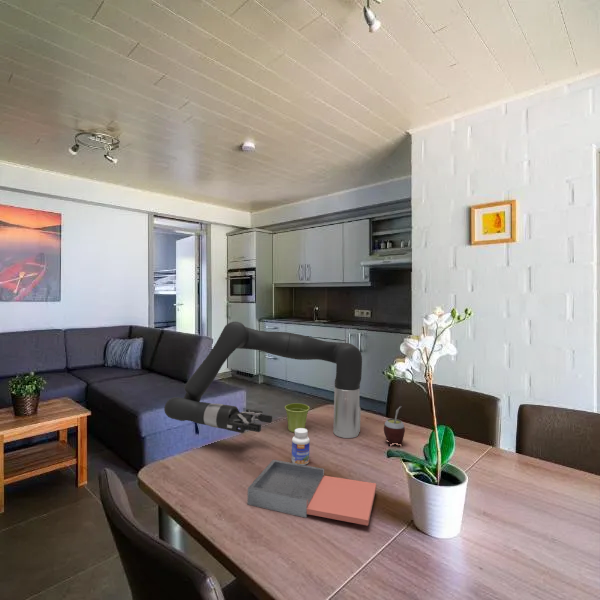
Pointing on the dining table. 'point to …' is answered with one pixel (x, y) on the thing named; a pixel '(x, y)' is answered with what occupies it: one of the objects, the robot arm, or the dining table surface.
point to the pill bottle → (300, 447)
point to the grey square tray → (285, 487)
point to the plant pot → (296, 415)
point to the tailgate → (343, 500)
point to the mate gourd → (394, 430)
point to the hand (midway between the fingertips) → (266, 423)
